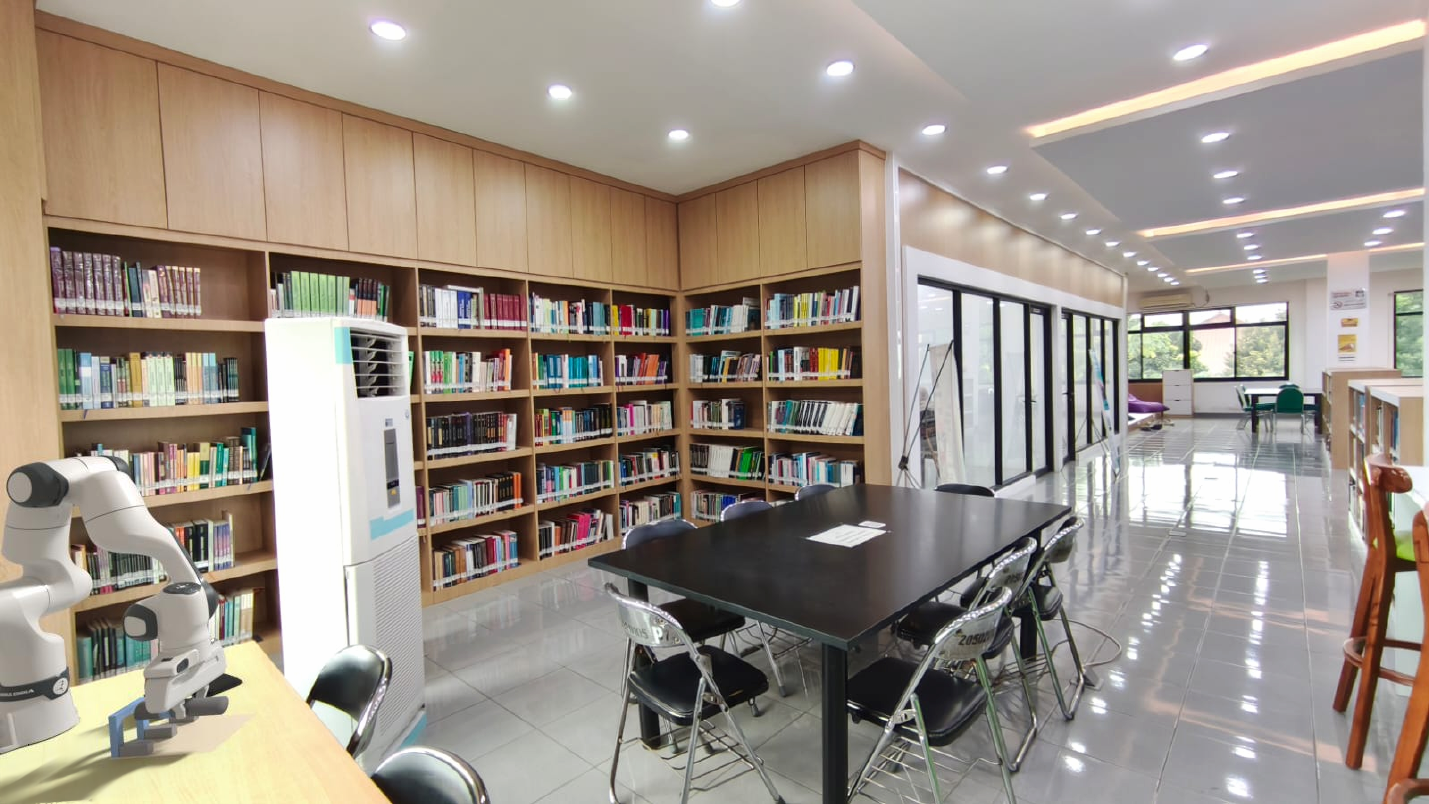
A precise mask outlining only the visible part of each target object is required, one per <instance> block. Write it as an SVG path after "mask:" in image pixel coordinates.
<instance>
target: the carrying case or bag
mask: <svg viewBox="0 0 1429 804" xmlns="http://www.w3.org/2000/svg"><path fill="white" fill-rule="evenodd" d="M242 684H243V680H242V679H240V678H239V677H236V676H234V675H232V674H228V673H225V672H224V673H223V674H222V675H220V676H219V677H217V678H216V679H214V680H213V681H211V682H210V683H209V688H208V691H207V694H206V696H205V697H216V696H217V695H219V694H223V693H224V692H226V691H229V690H232V689H234V688H236V687H239V686H241V685H242ZM196 694H197V691H196V692H195V693H193V694H192V695H191V698H196Z"/></svg>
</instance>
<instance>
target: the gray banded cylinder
mask: <svg viewBox="0 0 1429 804" xmlns="http://www.w3.org/2000/svg"><path fill="white" fill-rule="evenodd" d="M184 700H185V703H184V704H183V706H184V708H188V710H189V711H188V712H189V714H188V716H186V717H196V716H199V717H210V716H223V714H225V712H226V711H227V710H228V707H229V702H230V701H229V697H228V696H227V695H222V696H221V695H218V696H217V695H216V696H212V697H202V698H192V697H189V698H188V697H187V698H186V699H184ZM133 718H134V720H135V721H136V720H149V721H150V720H167V719H170V718H176V713H175V712H174V711H173V709H172V708H171V709H169V710H168V711H166V712H164V713H149V712H148V711H147V709H146V704H145V701H143V702H140V703H139V704H138V705H137V706H136V708H135V710H134V712H133Z"/></svg>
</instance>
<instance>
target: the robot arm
mask: <svg viewBox="0 0 1429 804" xmlns="http://www.w3.org/2000/svg"><path fill="white" fill-rule="evenodd" d="M5 488H6V494H7V495H8V497H9V499H10V500H9V504H8V507H7V511H6V513H5V521H4V527H3V528H4V529H3V534H2V535H3V536H2V543H1V544H2V545H1V551H0V552H1V555H2V556H3V557H4V559H6V560H7V561H8V562H10V563H13V564H16V565H20V566H22V574H21V576H20V577H19V578H18V577H17V578H16V579H12V580H8V581H4V582H1V583H0V753H1V754H5V753H7V752H11V751H12V750H13V751H14V750H15V749H18V748H21V747H25V746H28V744H29V745H32V744H35V743H39V742H42V741H45V740H47V739H50V738H52V737H55V736H58V735H59V734H63V733H64V732H66V731H68V730H69V729H71V728H73V727H75V726H76V725H77V724H78V722H80V720H81V717H80V715H79V714H78V709H77V707H75V703H74V699H73V695H72V691H71V688H70V681H71V675H70V674H71V671H70V667H69V666H68V665H67V657H66V656H67V655H66V644H65V640H64V638H63V637H62V636H61V635H59V634H56V633H54V632H48V631H43V630H42V628H41V626H40V624H39V622H40V619H41V618H44V617H48V616H50V615H53V614H57V613H59V612H62V611H66V610H67V609H70V608H71V607H73V606H75V605H77V604H79V603H81V602H82V601H84V600H86V599H87V598H88V597H89V596H90V594H91V592H92V589H93V585H94V584H93V579H92V577H91V574H89V572H88V571H86V570H85V569H84V568H82V567H81V566H78V565H76V563H74V562H73V560H72V558H71V555H70V550H69V544H70V542H69V540H70V531H71V523H72V516H73V515H72V514H73V506H74V505H75V506H76V507H77V508H78V509H79V511H80V512H79V513H80V515H81V519H82V521H83V524H84V527H85V529H86V532H87V534H88V536H89V538H90V540H91V542H92V543H93V544H94V545H95V546H97V547H98V548H100V549H102V550H104V551H106V552H111V553H116V554H127V555H128V554H129V555H130V554H131V555H142V556H147V557H151V558H152V559H155V560H157V561H158V562H159V564H161V566H162V567H163V569H164V571H165V573H166V574H167V575H168V577H169V578H170V580H171V582H172V584H169V585H167V586H164V587H163V588H162V589H160V590H159V592H158V593H156V594H155V595H152V596H150V597H147V598H144V599H142V600H139V601H136V602H135V603H132V604H130V606H128V608H127V609H126V610H125V612H124V615H123V617H122V630H123V633H124V634H125V636H126V637H127V638H129V639H131V640H133V641H135V642H140V643H141V642H143V643H144V642H150V641H154V640H160V641H161V645H160V649H161V651H159V653H158V654H157V655H156V657H155V658H154V659H152V661H151V662H150V663H149V664H148V665H147V666H146V667H145V668H144V669H143V672H142V674H143V678H144V679H145V678H149V679H148V680H147V682H146V684H145V683H144V684H145V690H144V694H145V704H146V709H147V711H148V712H149V713H164V712H166V711H168V710H169V709H171V708H172V709H173V711H174V712H175V713H176V719H183V718H185V717H186V716H188V714H189V712H188V711H189V710H188V708H184V706H183V704H184V703H185V700H184V699H186V698H188V697H189V698H190V697H191V696H192V695H193V693H195V692H196V691H197V694H196V698H202V697H205V696H206V694H207V691H208V688H209V683H210V682H211V681H213V680H214V679H216V678H217V677H219V676H220V675H222V674H223V673H225V672H226V670H227V667H228V666H227V660H226V654H225V653H226V652H225V650H224V647H223V646H222V644H221V643H222V642H221V640H219V639H218V638H216V637H214V638H211V632H210V630H209V627H208V625H209V624H208V623H209V621H210V620H211V619H212V617H213V616H214V615H215V613H216V612H217V609H218V607H219V603H220V600H219V599H220V598H219V595H218V593H217V591H216V589H215V588H214V586H212V585H211V584H210V583H209V582H208V581H207V580H206V579H205V577H204V576H203V575H202V573H201V571H200V570H199V568H198V567H197V564H196V563H195V561H194V560H193V558H192V557H191V555H190V554H189V552H188V550H187V549H186V548H185V546H184V544H183V542H182V541H181V540H180V538H179V537H178V536H177V534H176V533H175V532H174V531H173V530H172V529H171V528H169V527H167V526H164V525H162V524H160V523H159V522H158V521H157V520H156V519H155V518H154V517H153V516H152V514H151V513H150V512H149V509H148V507H147V505H146V503H145V500H144V498H143V496H142V495H141V493H140V491H139V489H138V487H137V485H136V484H135V483H134V481H133V480H132V472H131V468H130V466H129V465H128V462H126V460H124V459H123V458H121V457H119V456H114V455H105V454H103V455H97V456H94V455H93V456H92V455H91V456H89V455H88V456H73V457H67V458H60V459H54V460H49V461H48V460H47V461H41V462H40V461H35V462H31V463H27V464H23V465H21V466H18V467H16V468H15V469H13V470H12V472H11V473H10V474H9V476H8V477H7V480H6V485H5Z"/></svg>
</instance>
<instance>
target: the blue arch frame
mask: <svg viewBox="0 0 1429 804" xmlns="http://www.w3.org/2000/svg"><path fill="white" fill-rule="evenodd" d="M143 701H145V697H144V696H140V697H138V698H137V699H135V700H133V701H132V702H130V703H128V704H127V705H125V706H124V707H122V708H120V709H119V710H116V712H114V713H112V714H110V715H109V716H108V717H107V719H108V730H109V731H108V732H109V744H110V758H119V757H120V753H119V746H121V745H122V744H124V743H125V736H124V734H125V733H124V723H123V719H125V718H126V717H128V716H131V714H134V710H135V708H136V706H137V705H138V704H139V703H140V702H143ZM135 724H136V737H137V738H136V740H145V729H146V728H148V727H149V726H150V720H135Z"/></svg>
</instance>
